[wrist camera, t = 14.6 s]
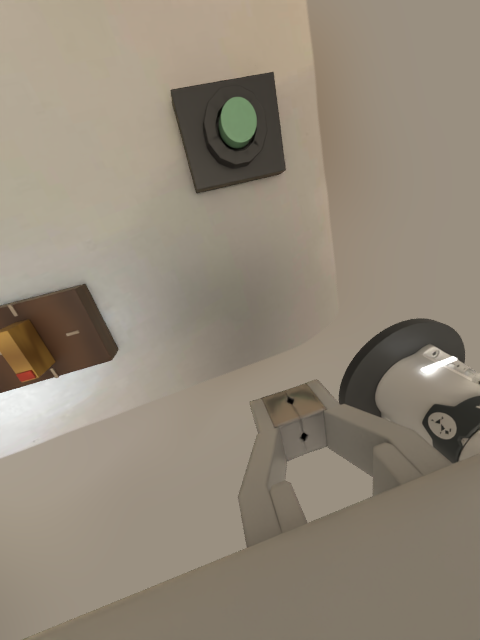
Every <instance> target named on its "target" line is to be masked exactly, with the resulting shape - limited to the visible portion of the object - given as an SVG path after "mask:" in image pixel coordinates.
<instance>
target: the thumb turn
mask: <svg viewBox="0 0 480 640" xmlns="http://www.w3.org/2000/svg"><path fill="white" fill-rule="evenodd" d="M0 352H1V354H2V355H3V357H4V358H5V359H6V361H7V362H8V364H9V365H10V366H11V368H12V369H13V370H14V372H15V373H16V376H17V377H18V378H19V380H20V381H21V382H26V381H29V380H33V379H36V378H39V377H40V376H41V375H42V374H43V373H44V372H46V371H47V370H48V369H49V368H50V367H51V366H52V365H53V364H54V363H55V360H54V358H53V357H52V355H51V354H50V352H49V350H48V349H47V347H46V346H45V344H44V342H43V341H42V339H41V338H40V336H39V334H38V333H37V331H36V330H35V328H34V327H33V325H32V323H31V322H30V320H29V319H28V320H24V321H20V322H16V323H13V324H11V325H9V326H7V327H5V328H3V329H1V330H0Z"/></svg>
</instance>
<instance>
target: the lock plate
mask: <svg viewBox="0 0 480 640" xmlns="http://www.w3.org/2000/svg"><path fill="white" fill-rule="evenodd" d="M28 319H29V320H30V322H31V323H32V325H33V327H34V328H35V330H36V331H37V333H38V334H39V336H40V338H41V339H42V341H43V342H44V344H45V346H46V347H47V349H48V350H49V352H50V354H51V355H52V357H53V358H54V360H55V363H54V364H53V365H52V366H51V367H50V368H49V369H48V370H47V371H46V372H44V373H43V374H42V375H41V376H40V377H39V378H36V379H33V380H29V381H26V382H21V381H20V380H19V378H18V377H17V376H16V373H15V372H14V370H13V369H12V368H11V366H10V365H9V364H8V362H7V361H6V359H5V358H4V357H3V355H2V354H1V352H0V393H2V392H6V391H9V390H12V389H16V388H19V387H23V386H26V385H29V384H33V383H36V382H40V381H43V380H46V379H50V378H53V377H55V378H58V377H59V376H60V375H63V374H67V373H70V372H73V371H77V370H80V369H84V368H87V367H90V366H94V365H97V364H101V363H104V362H107V361H111V360H112V359H113V358H114V356H115V355H116V353H117V351H118V348H117V346H116V344H115V342H114V340H113V338H112V336H111V334H110V332H109V330H108V328H107V326H106V324H105V322H104V320H103V318H102V316H101V314H100V312H99V310H98V308H97V306H96V304H95V302H94V300H93V298H92V296H91V294H90V292H89V290H88V288H87V286H86V284H83V285H79V286H75V287H71V288H67V289H63V290H59V291H55V292H52V293H48V294H44V295H40V296H36V297H32V298H28V299H24V300H20V301H16V302H13V303H9V304H5V305H1V306H0V330H1V329H3V328H5V327H7V326H9V325H11V324H13V323H16V322H20V321H24V320H28Z"/></svg>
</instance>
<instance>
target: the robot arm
mask: <svg viewBox="0 0 480 640" xmlns="http://www.w3.org/2000/svg"><path fill="white" fill-rule="evenodd" d="M375 402H376V405H377V407H378V409H379V410H380V412H381V418H380V417H378V416H375V415H373V414H370V413H367V412H365V411H362V410H359V409H357V408H354V407H351V406H349V405H346V404H342V405H340V404H339V403H338V401H337V400H336V399H335V398H334V397H333V396H332V395H331V394H330V393H329V392H328V390H327V389H326V388H325V387H324V386H323V385H322V384H321V383H320V382H319V381H318V380H313V381H310V382H307V383H305V384H302V385H299V386H296V387H293V388H290V389H288V390H285V391H282V392H278V393H275V394H272V395H269V396H266V397H263V398H260V399H257V400H253V401H250V407H251V410H252V414H253V418H254V422H255V424H256V428H257V432H258V434H257V436H256V440H255V443H254V446H253V449H252V452H251V456H250V459H249V462H248V465H247V469H246V472H245V475H244V478H243V482H242V485H241V488H240V492H239V495H238V500H239V506H240V511H241V518H242V523H243V529H244V534H245V540H246V545H247V548H245V549H243V550H240V551H238V552H236V553H233V554H231V555H228V556H226V557H223V558H221V559H219V560H216V561H214V562H211V563H209V564H206V565H204V566H201V567H199V568H197V569H194V570H191V571H189V572H187V573H184V574H182V575H179V576H177V577H175V578H172V579H169V580H167V581H165V582H162V583H160V584H158V585H155V586H152V587H150V588H147V589H145V590H143V591H140V592H138V593H135V594H133V595H130V596H128V597H125V598H123V599H120V600H118V601H116V602H113V603H111V604H108V605H106V606H103V607H101V608H99V609H96V610H93V611H91V612H89V613H86V614H84V615H81V616H79V617H77V618H74V619H71V620H69V621H66V622H64V623H61V624H59V625H57V626H54V627H52V628H49V629H47V630H44V631H42V632H39V633H37V634H34V635H32V636H30V637H27V638H25V639H22V640H480V373H478V372H476V371H474V370H472V368H470V367H469V366H467V365H465V364H464V363H462V362H460V361H459V360H457V358H455V357H452V356H450V355H449V354H447V353H445V352H443V351H442V350H440V349H438V348H437V347H435V346H433V345H431V344H428V345H426V346H424V347H423V348H421V349H420V350H419V351H418V352H416V353H415V354H413V355H410V356H408V357H406V358H404V359H402V360H400V361H398V362H397V363H396V364H394V365H393V366H392V367H391V368H390V369H389V370H388V371H387V372H386V373H385V374H384V376H383V377H382V379H381V380H380V382H379V384H378V386H377V389H376V393H375ZM327 446H328V448H329V449H331V450H332V451H334V452H336V453H337V454H338V455H340V456H342V457H343V458H345V459H346V460H347V461H349V462H350V463H352V464H353V465H355V466H357V467H358V468H360V469H361V470H363V471H364V472H366V473H367V474H369V475H370V476H372V477H373V496H372V497H370V498H368V499H365V500H363V501H360V502H358V503H356V504H353V505H350V506H348V507H346V508H343V509H341V510H338V511H336V512H334V513H331V514H329V515H326V516H324V517H321V518H319V519H316V520H314V521H311V522H309V523H307V521H306V518H305V516H304V513H303V511H302V509H301V507H300V504H299V501H298V499H297V497H296V494H295V492H294V490H293V487H292V485H291V483H290V482H287V481H285V477H286V466H287V461H289V460H292V459H294V458H297V457H299V456H301V455H304V454H306V453H309V452H312V451H315V450H318V449H321V448H324V447H327Z"/></svg>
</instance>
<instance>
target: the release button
mask: <svg viewBox="0 0 480 640" xmlns="http://www.w3.org/2000/svg"><path fill="white" fill-rule="evenodd" d="M256 126H257V117H256V113H255V110H254V108H253V106H252V105H251V103H250V102H249V101H247V100H246V99H244V98H242V97H233V98H231V99H229V100H228V101H227V102H226V103H225V104H224V106H223V108H222V111H221V115H220V119H219V132H220V135H221V137H222V139H223V141H224V142H225V143H226V144H227V145H228V146H230V147H232V148H242V147H244V146H246V145H247V144H248V142H249V141H250V139H251V138H252V136H253V135H254V133H255V130H256Z"/></svg>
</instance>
